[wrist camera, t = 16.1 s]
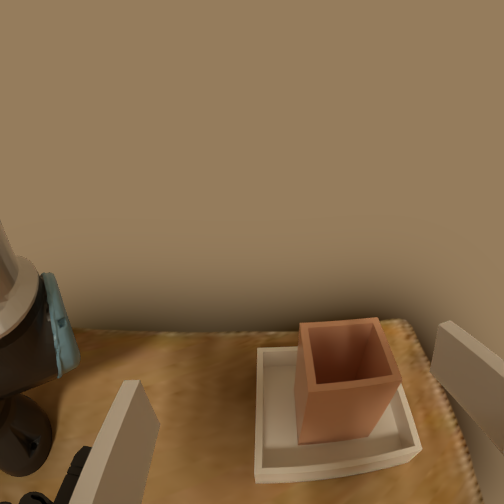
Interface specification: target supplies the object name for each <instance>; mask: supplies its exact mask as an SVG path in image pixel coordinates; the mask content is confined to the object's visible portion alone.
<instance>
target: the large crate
mask: <svg viewBox="0 0 504 504" xmlns="http://www.w3.org/2000/svg"><path fill="white" fill-rule="evenodd" d="M297 351H298V346H295V347H270V348H257V387H256V427H255V464H254V476H255V481H256V483H289V482H303V481H314V480H323V479H331V478H338V477H345V476H351V475H356V474H362V473H367V472H371V471H376V470H380V469H385V468H389V467H393V466H396V465H400V464H404V463H407V462H409V461H410V460H411V459H412V458H414V457H415V456H416V455H417V454H418V453H419V452H420V451H421V450H422V447H421V443H420V440H419V436H418V433H417V430H416V426H415V423H414V420H413V417H412V414H411V411H410V408H409V405H408V402H407V399H406V396H405V393H404V390H403V387H402V384H400V385H399V387H398V389H397V391H396V393H395V394H394V396H393V398H392V400H391V401H390V403H389V405H388V406H387V408H386V410H385V411H384V413H383V415H382V416H381V418H380V419H379V421H378V423H377V424H376V426H375V427H374V429H373V430H372V432H371V433H370V435H369V436H368V437H364V438H358V439H352V440H345V441H338V442H330V443H321V444H310V445H298V440H297V425H296V410H295V396H294V383H295V373H296V362H297Z"/></svg>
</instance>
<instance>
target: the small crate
mask: <svg viewBox="0 0 504 504" xmlns="http://www.w3.org/2000/svg"><path fill="white" fill-rule="evenodd" d="M401 382H402V377H401V374H400V372H399V369H398V366H397V364H396V361H395V359H394V356H393V354H392V351H391V349H390V346H389V344H388V341H387V339H386V336H385V334H384V331H383V329H382V327H381V324H380V322H379V320H378V318H377V317H376V318H365V319H354V320H341V321H326V322H310V323H300V326H299V338H298V351H297V362H296V373H295V383H294V396H295V410H296V425H297V440H298V445H310V444H321V443H330V442H338V441H345V440H352V439H358V438H364V437H368V436H369V435H370V433H371V432H372V430H373V429H374V427H375V426H376V424H377V423H378V421H379V419H380V418H381V416H382V415H383V413H384V411H385V410H386V408H387V406H388V405H389V403H390V401H391V400H392V398H393V396H394V394H395V393H396V391H397V389H398V387H399V385H400V384H401Z"/></svg>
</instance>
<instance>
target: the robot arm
mask: <svg viewBox="0 0 504 504" xmlns="http://www.w3.org/2000/svg"><path fill="white" fill-rule="evenodd" d="M79 363H80V352H79V349H78V345H77V343H76V340H75V337H74V334H73V331H72V328H71V325H70V322H69V319H68V316H67V313H66V310H65V307H64V304H63V301H62V297H61V294H60V291H59V288H58V284H57V281H56V279H55V276H54V274H52V273H50V272H49V273H42V274H41V275H40V276H39V274H38V272H37V270H36V268H35V266H34V265H33V263H32V262H31V261H30V260H28V259H27V258H24V257H22V256H16V255H15V254H14V252H13V250H12V248H11V246H10V243H9V241H8V238H7V236H6V234H5V231H4V229H3V226H2V224H1V221H0V470H2V471H3V472H5V473H7V474H9V475H11V476H15V477H23V476H27V475H30V474H32V473H33V472H35V471H36V470H37V469H39V468H40V467H41V465H42V464H43V463H44V461H45V460H46V458H47V456H48V453H49V451H50V447H51V441H52V430H51V425H50V422H49V419H48V417H47V415H46V414H45V412H44V411H43V410H42V409H41V408H40V407H39V406H38V405H37V403H36V402H34V401H33V400H32V399H31V398H29V397H27V396H25V395H22V394H21V392H24V391H26V390H29V389H31V388H34V387H36V386H39V385H41V384H44V383H46V382H49V381H51V380H54V379H56V378H61V377H62V375H63V374H65V373H67V372H69V371H71V370H73V369H75V368H76V367H77V366H78V365H79ZM430 373H431V374H432V375H433V376H434V377H435V378H436V379H437V380H438V381H439V382H440V383H441V384H442V386H443V387H444V388H445V389H446V390H447V391H448V392H449V393H450V394H451V395H452V396H453V398H454V399H455V400H456V401H457V402H458V403H459V404H460V405H461V406H462V408H463V409H465V411H466V412H467V413H468V414H469V415H470V417H471V418H472V419H473V420H474V421H475V422H476V423H477V425H478V426H479V427H480V428H481V429H482V430H483V432H484V433H485V434H486V435H487V436H488V437H489V438H490V440H491V441H492V442H493V443H494V444H495V446H496V447H497V448H498V449H499V451H500V452H501V453H502V454H503V455H504V360H503V359H501V358H500V357H499V356H497V355H496V354H495V353H494V352H492V351H491V350H490V349H488V348H487V347H486V346H484V345H483V344H482V343H481V342H479V341H478V340H477V339H475V338H474V337H473V336H471V335H470V334H469V333H467V332H466V331H464V330H463V329H462V328H460V327H459V326H458V325H456V324H455V323H453V322H452V321H451V320H449V321H446V322H444V323H441V324H439V325H438V330H437V337H436V342H435V348H434V353H433V358H432V363H431V368H430ZM159 427H160V423H159V421H158V419H157V417H156V414H155V412H154V410H153V408H152V406H151V404H150V402H149V400H148V397H147V395H146V393H145V391H144V388H143V386H142V384H141V381H140V380H124V381H123V383H122V385H121V387H120V389H119V391H118V393H117V395H116V397H115V400H114V402H113V404H112V406H111V408H110V410H109V412H108V414H107V416H106V418H105V421H104V423H103V425H102V427H101V429H100V431H99V433H98V436H97V438H96V440H95V442H94V445H93V447H88V446H83V447H82V448H81V449H80V450H79V451H78V452H77V453H76V454H75V456H74V458H73V460H72V463H71V467H69V469H68V471H67V475H66V476H65V478H64V480H63V482H62V485H61V487H60V489H59V491H58V494H57V496H56V498H55V501H54V503H53V502H52V501H50V500H49V499H48V498H47V497H46V496H45V495H43V494H42V493H39V492H29V493H27V494H25V495H24V496H23V497H22V498H21V499H20V502H19V504H141V502H142V498H143V493H144V489H145V485H146V480H147V476H148V472H149V467H150V463H151V459H152V455H153V451H154V447H155V443H156V439H157V435H158V431H159ZM0 504H11V503H10V502H6V501H5V502H0Z"/></svg>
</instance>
